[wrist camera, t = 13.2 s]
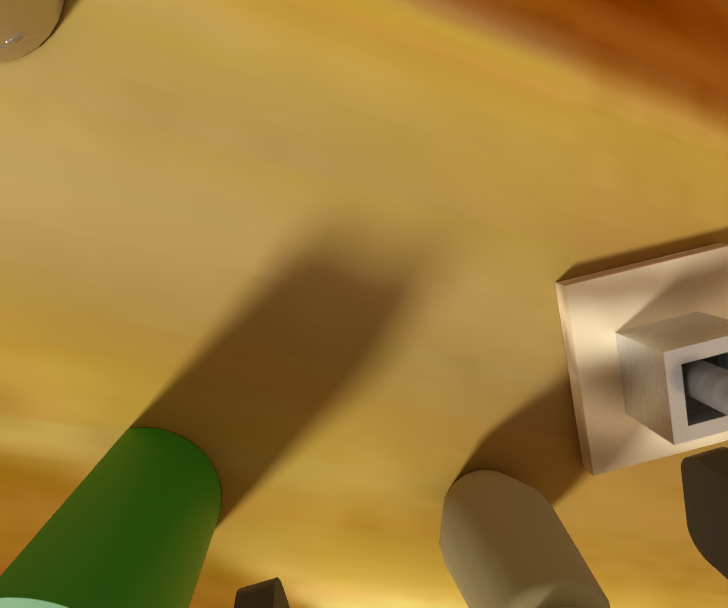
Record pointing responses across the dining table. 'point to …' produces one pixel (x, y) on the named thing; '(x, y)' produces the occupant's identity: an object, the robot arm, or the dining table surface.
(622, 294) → the stand
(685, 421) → the collar
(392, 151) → the dining table surface
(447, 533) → the squeeze bottle
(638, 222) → the dining table surface
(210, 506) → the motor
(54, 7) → the robot arm
